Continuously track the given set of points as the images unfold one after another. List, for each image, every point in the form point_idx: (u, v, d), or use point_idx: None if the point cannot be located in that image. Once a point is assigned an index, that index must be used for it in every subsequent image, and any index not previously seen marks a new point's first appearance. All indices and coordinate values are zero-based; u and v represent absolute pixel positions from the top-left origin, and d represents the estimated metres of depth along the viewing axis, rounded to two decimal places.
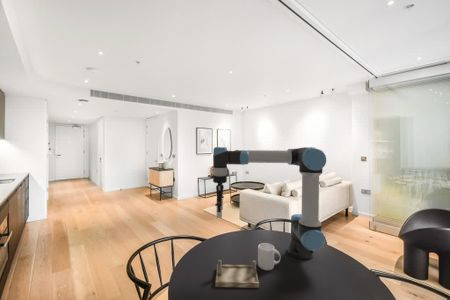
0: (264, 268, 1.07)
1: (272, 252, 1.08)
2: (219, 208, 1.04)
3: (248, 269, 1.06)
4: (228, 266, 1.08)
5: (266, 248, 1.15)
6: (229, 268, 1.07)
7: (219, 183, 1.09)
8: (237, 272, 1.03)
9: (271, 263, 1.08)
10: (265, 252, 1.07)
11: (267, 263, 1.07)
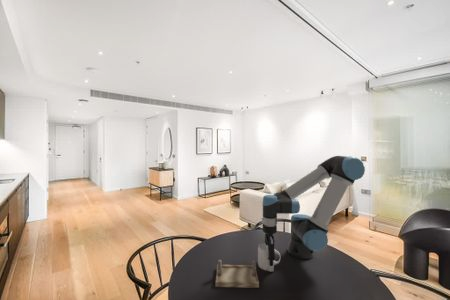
0: (264, 268, 1.07)
1: None
2: (271, 262, 1.05)
3: (248, 269, 1.06)
4: (228, 266, 1.08)
5: (266, 248, 1.15)
6: (229, 268, 1.07)
7: (270, 234, 1.07)
8: (237, 272, 1.03)
9: None
10: (266, 252, 1.07)
11: None
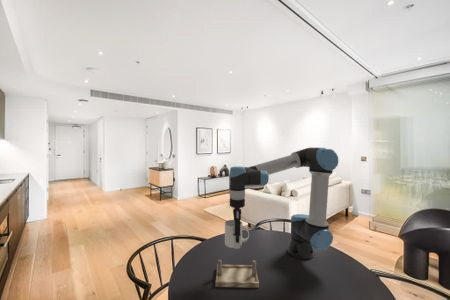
0: (230, 245, 0.97)
1: None
2: (237, 238, 0.95)
3: (248, 269, 1.06)
4: (228, 266, 1.08)
5: None
6: (229, 268, 1.07)
7: (237, 208, 0.97)
8: (237, 272, 1.03)
9: None
10: (231, 227, 0.97)
11: None
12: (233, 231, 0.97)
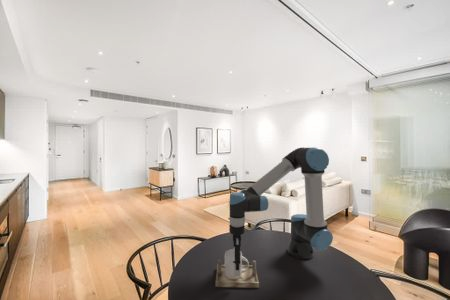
0: (230, 277, 0.98)
1: None
2: (237, 266, 0.93)
3: (248, 269, 1.06)
4: None
5: (234, 255, 1.06)
6: None
7: (237, 235, 0.97)
8: None
9: None
10: (231, 259, 0.97)
11: (233, 271, 0.97)
12: (233, 263, 0.97)
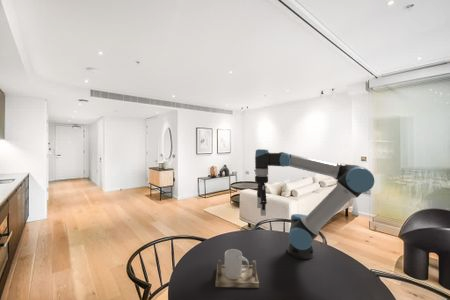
0: (230, 277, 0.98)
1: (239, 259, 0.98)
2: (264, 206, 1.12)
3: (248, 269, 1.06)
4: None
5: (234, 255, 1.05)
6: None
7: (262, 183, 1.17)
8: None
9: (237, 272, 0.98)
10: (231, 259, 0.97)
11: (233, 271, 0.97)
12: (233, 263, 0.97)
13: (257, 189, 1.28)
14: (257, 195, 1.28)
